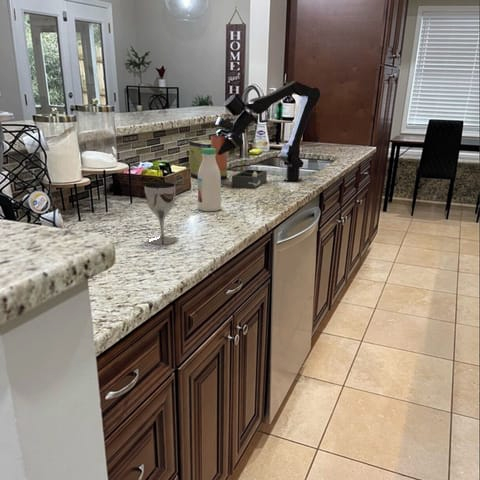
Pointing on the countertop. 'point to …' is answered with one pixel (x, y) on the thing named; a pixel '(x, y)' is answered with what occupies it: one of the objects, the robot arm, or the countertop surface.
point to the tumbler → (217, 144)
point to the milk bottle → (209, 182)
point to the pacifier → (254, 176)
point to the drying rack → (248, 178)
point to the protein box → (200, 157)
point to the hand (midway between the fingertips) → (215, 153)
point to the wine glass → (160, 206)
